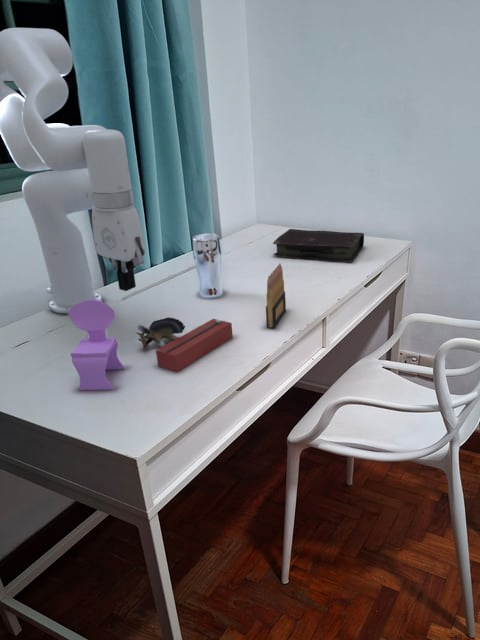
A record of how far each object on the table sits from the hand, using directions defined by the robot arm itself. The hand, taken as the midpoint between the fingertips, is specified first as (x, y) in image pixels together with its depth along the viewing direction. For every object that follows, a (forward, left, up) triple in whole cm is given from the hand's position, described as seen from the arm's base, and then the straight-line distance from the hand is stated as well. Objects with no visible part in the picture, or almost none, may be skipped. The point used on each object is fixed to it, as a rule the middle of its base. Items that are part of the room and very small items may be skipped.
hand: (127, 288), depth 115 cm
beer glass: (-1, +28, -11) cm, 30 cm away
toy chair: (+10, -18, -11) cm, 23 cm away
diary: (+6, +74, -11) cm, 75 cm away
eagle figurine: (+10, -2, -11) cm, 15 cm away
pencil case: (+18, 0, -11) cm, 21 cm away
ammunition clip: (+23, +22, -11) cm, 34 cm away
